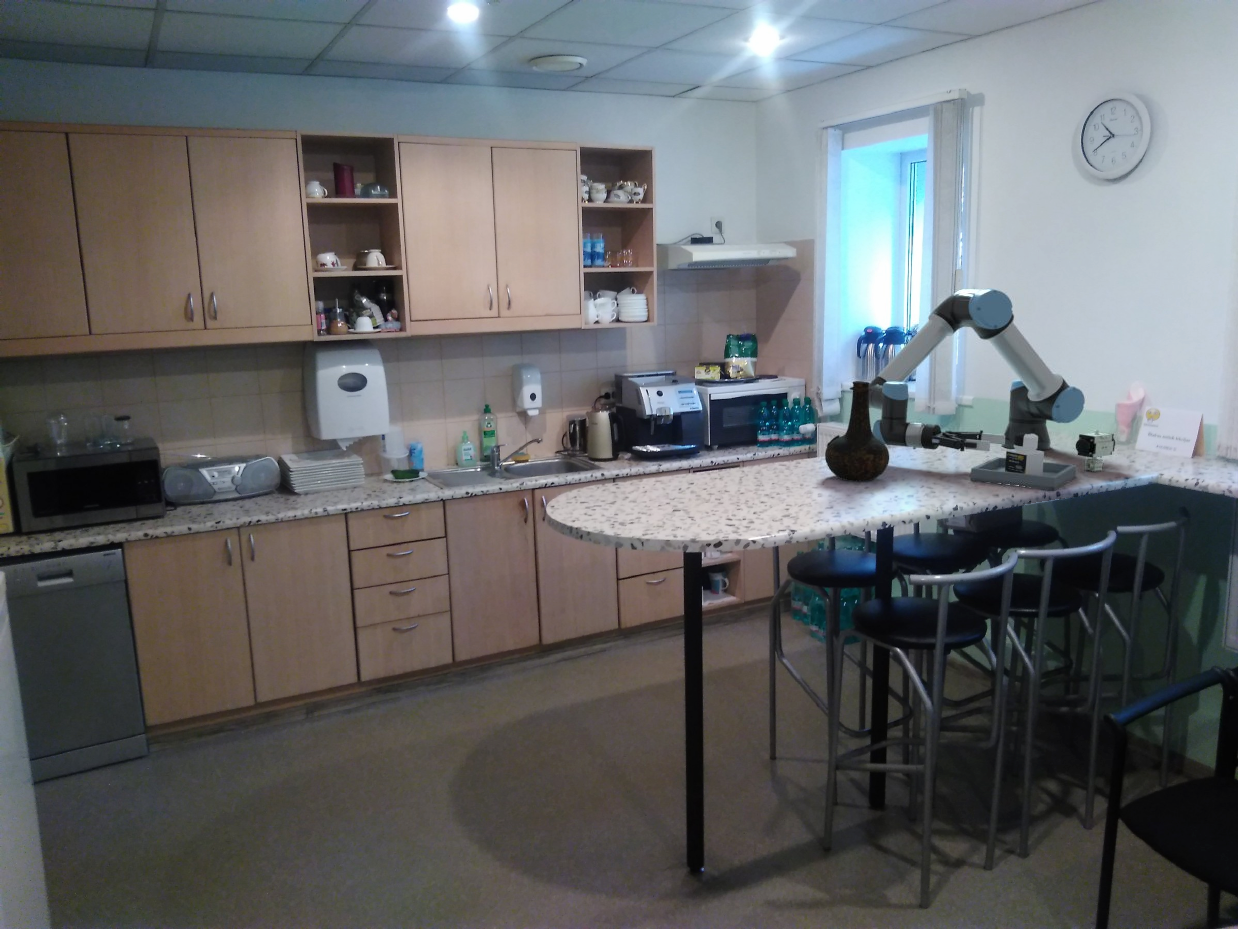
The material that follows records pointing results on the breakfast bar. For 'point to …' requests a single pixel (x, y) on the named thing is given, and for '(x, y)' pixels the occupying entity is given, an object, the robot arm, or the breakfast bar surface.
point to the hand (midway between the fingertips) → (997, 443)
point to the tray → (1024, 475)
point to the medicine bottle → (1025, 455)
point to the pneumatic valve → (1095, 448)
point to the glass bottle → (857, 443)
